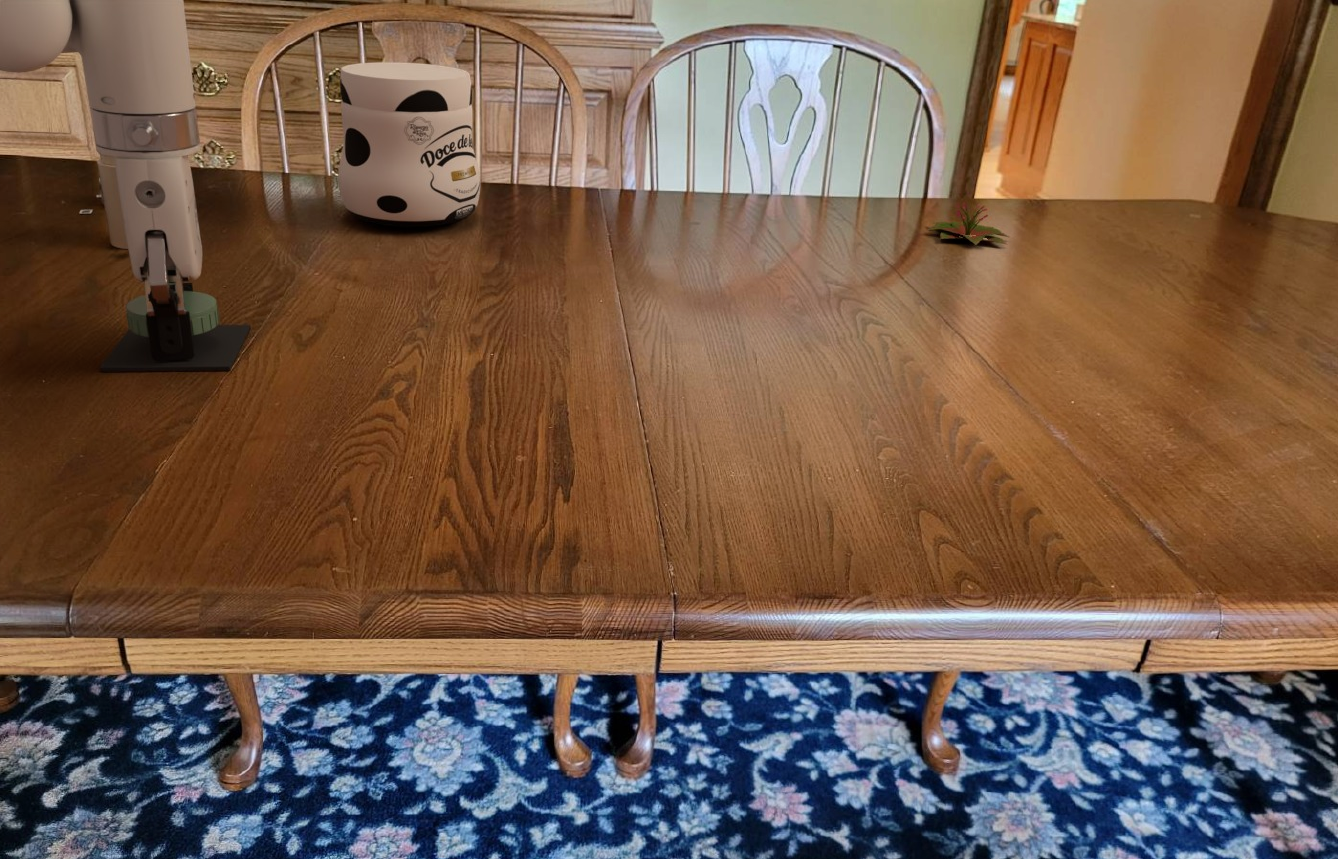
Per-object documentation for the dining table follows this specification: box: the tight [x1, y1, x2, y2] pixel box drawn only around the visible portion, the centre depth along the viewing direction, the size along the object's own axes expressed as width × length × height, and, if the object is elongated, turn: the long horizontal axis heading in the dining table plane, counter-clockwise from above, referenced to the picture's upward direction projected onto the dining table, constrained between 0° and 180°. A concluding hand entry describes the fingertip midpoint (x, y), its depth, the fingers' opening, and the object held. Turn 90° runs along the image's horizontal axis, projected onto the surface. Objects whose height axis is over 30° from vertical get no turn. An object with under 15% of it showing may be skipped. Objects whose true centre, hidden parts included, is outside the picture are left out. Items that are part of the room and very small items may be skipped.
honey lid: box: [125, 290, 220, 337], centre depth 90 cm, size 7×7×2 cm
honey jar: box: [96, 152, 128, 250], centre depth 116 cm, size 6×6×11 cm
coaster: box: [99, 324, 251, 373], centre depth 91 cm, size 10×10×1 cm
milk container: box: [337, 61, 481, 228], centre depth 130 cm, size 17×17×18 cm
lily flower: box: [925, 202, 1010, 246], centre depth 143 cm, size 12×12×5 cm
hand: (175, 340), depth 91 cm, fingers closed on honey lid, 6 cm apart
